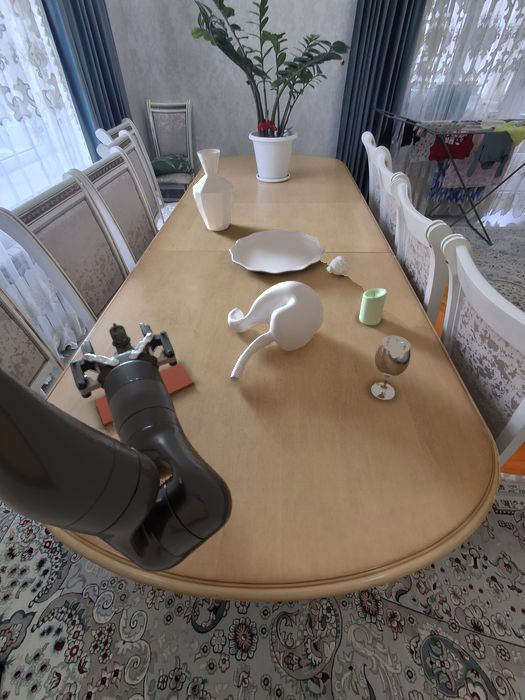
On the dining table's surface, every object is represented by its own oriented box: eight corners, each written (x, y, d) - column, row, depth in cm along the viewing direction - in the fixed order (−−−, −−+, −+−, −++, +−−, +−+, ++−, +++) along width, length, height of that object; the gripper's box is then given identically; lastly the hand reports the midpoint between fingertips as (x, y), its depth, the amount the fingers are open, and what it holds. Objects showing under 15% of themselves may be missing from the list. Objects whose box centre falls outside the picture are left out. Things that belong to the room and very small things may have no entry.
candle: (355, 321, 84) (360, 291, 79) (364, 311, 87) (369, 282, 81) (375, 328, 82) (381, 298, 76) (383, 317, 85) (390, 288, 79)
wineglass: (397, 406, 64) (413, 358, 56) (365, 398, 66) (376, 351, 58) (399, 384, 68) (414, 337, 60) (369, 377, 70) (380, 330, 62)
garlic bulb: (321, 274, 101) (323, 256, 98) (338, 268, 103) (340, 251, 100) (333, 282, 98) (334, 264, 94) (350, 276, 99) (352, 259, 96)
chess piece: (116, 362, 77) (97, 318, 69) (143, 354, 78) (127, 311, 70) (119, 380, 73) (98, 335, 65) (147, 371, 74) (131, 327, 66)
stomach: (244, 324, 92) (222, 400, 76) (222, 284, 83) (193, 361, 67) (330, 310, 84) (326, 392, 68) (317, 264, 75) (309, 346, 59)
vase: (235, 233, 125) (228, 155, 109) (196, 234, 126) (183, 158, 109) (238, 218, 136) (231, 145, 119) (202, 219, 136) (190, 147, 120)
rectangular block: (180, 364, 75) (179, 362, 75) (193, 383, 71) (193, 382, 71) (95, 401, 68) (94, 400, 68) (104, 425, 64) (103, 424, 64)
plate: (311, 285, 97) (312, 277, 95) (215, 272, 105) (214, 265, 103) (331, 240, 117) (331, 233, 116) (249, 232, 125) (249, 226, 124)
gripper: (186, 363, 45) (153, 303, 56) (70, 406, 41) (59, 331, 52) (196, 400, 50) (164, 338, 61) (93, 442, 46) (78, 367, 57)
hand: (116, 335), depth 56 cm, fingers open, 8 cm apart
